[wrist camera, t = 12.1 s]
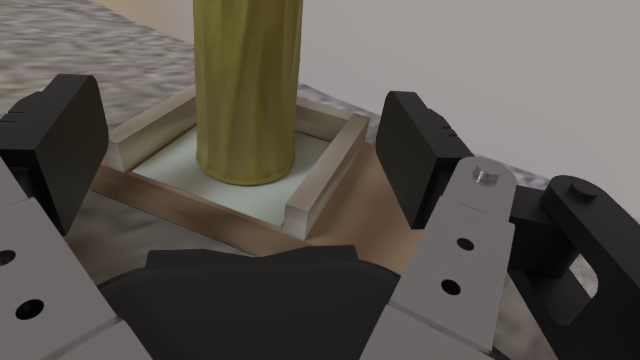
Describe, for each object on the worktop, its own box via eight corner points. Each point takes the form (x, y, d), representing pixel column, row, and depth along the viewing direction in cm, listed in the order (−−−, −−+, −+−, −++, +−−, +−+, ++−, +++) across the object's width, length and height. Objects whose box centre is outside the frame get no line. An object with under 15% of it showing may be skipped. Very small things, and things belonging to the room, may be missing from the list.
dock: (91, 190, 25) (73, 127, 22) (197, 118, 33) (194, 66, 30) (403, 314, 20) (428, 254, 18) (433, 194, 29) (453, 142, 26)
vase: (244, 201, 22) (248, -124, 13) (174, 154, 24) (141, -142, 16) (313, 159, 26) (351, -110, 17) (247, 123, 28) (252, -126, 20)
